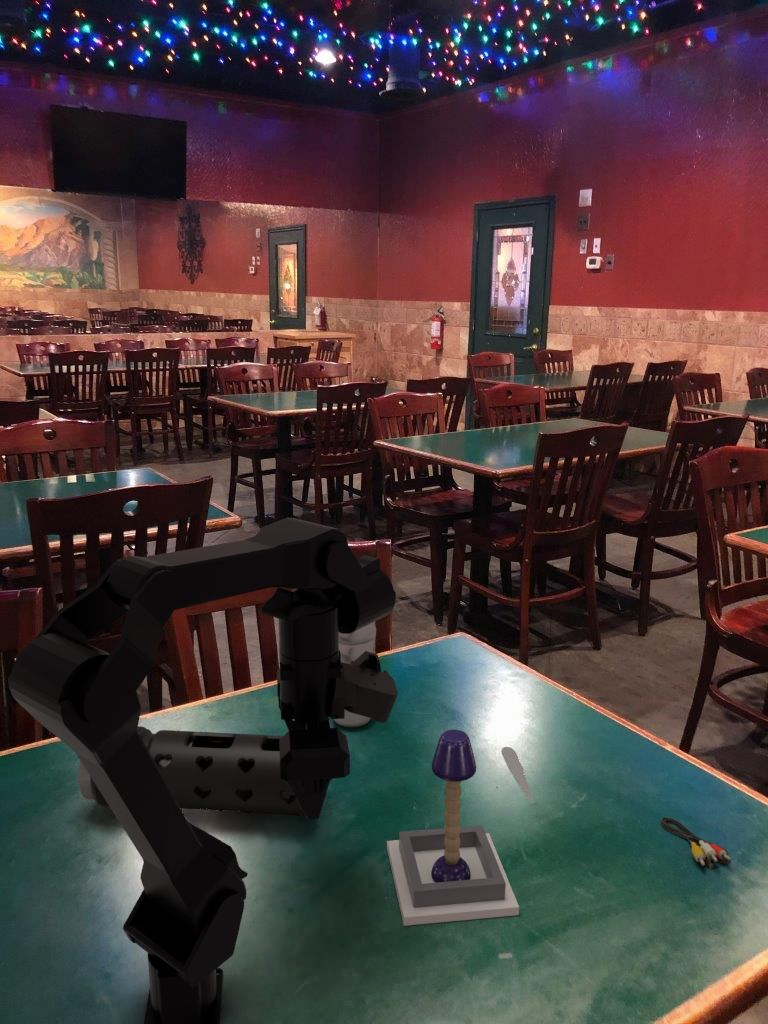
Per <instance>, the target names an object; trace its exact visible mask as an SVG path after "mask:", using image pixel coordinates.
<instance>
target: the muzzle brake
mask: <svg viewBox="0 0 768 1024" xmlns="http://www.w3.org/2000/svg"><path fill="white" fill-rule="evenodd" d="M138 732H139V735H140V736H141V738H142V740H143V742H144V744H145V745H146V747H147V749H148V751H149V753H150V754H151V756H152V758H153V760H154V761H155V763H156V765H157V767H158V769H159V770H160V772H161V774H162V776H163V778H164V779H165V781H166V783H167V785H168V786H169V788H170V790H171V792H172V794H173V795H174V797H175V799H176V801H177V803H178V804H179V806H180V808H181V809H183V810H185V809H187V810H203V811H204V810H205V811H206V810H210V811H218V812H219V813H223V812H224V811H225V812H239V813H240V814H253V815H255V814H256V815H270V816H271V815H273V816H274V815H275V816H288V817H289V816H291V817H293V816H294V817H306V815H305V813H304V812H303V810H302V808H301V806H300V804H299V802H298V801H297V799H296V797H295V795H294V794H293V792H292V790H291V789H290V787H289V785H288V784H287V782H286V781H284V780H283V779H281V778H280V749H279V740H280V739H281V738H282V737H283V736H284V735H272V734H253V733H251V734H250V733H236V732H234V733H233V732H230V733H229V732H213V731H211V732H209V731H193V730H192V731H189V730H172V729H171V730H170V729H168V730H167V729H162V730H161V729H160V730H157V732H155V733H153V731H152V730H151V729H149V728H147V727H145V726H139V725H138ZM78 786H79V787H78V788H79V791H80V794H81V796H82V797H83V798H84V799H85V800H90V801H95V803H97V804H98V805H99V806H101V807H104V808H110V806H109V805H108V803H107V802H106V800H105V798H104V797H103V795H102V794H101V792H100V791H99V789H98V787H97V786H96V784H95V783H94V781H93V780H92V778H91V776H90V775H89V773H88V772H87V770H86V768H85V767H84V765H83V764H82V762H81V761H80V760H79V766H78Z"/></svg>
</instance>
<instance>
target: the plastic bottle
mask: <svg viewBox="0 0 768 1024" xmlns="http://www.w3.org/2000/svg"><path fill="white" fill-rule="evenodd" d="M376 636H377V628H376V624H375V622H373V623H371V624H369V625H367V626H365V627H363V628H361V629H359V630H357V631H355V632H353V633H349V634H342V633H339V650H340V653H341V662H343V663H347V664H350V663H351V661H355V660H356V659H357V658H358V657H359V656H360V655H362V654H363V653H364V652H365V651H368V652H371V653H373V651H374V647H375V642H376V641H375V640H376ZM371 719H372V718H369V717H365V716H361V715H358V714H354V713H351V712H349V711H347V710H345V718H344V719H332V720H333V721H334V722H335V723H336V724H337V725H339V726H341V727H345V728H358V727H361V726H365V725H367V724H368V723H369V722H370V721H371Z"/></svg>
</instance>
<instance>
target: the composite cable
mask: <svg viewBox="0 0 768 1024" xmlns="http://www.w3.org/2000/svg"><path fill="white" fill-rule="evenodd" d="M673 825H674V826H675V827H674V826H673ZM660 826H661V828H663V830H665V831H667V832H668V833H670V834H672V835H675V836H677V837H679V838H682V839H685V840H686V841H687V842H688V843H689V844H690V848H691V853H692V855H693V858H694V860H695V861H696V862H697V863H700V864H701V866H703V867H704V866H708V867H709V868H710V869H711V870H713V869H714V863H713V862H712V861H714V862H715V863H719V864H723V865H724V864H728V863H730V861H731V857H730V853H729V851H728V850H727V849H726V848H725V847H723V846H721V845H719V844H715V843H712V842H710V841H707V840H705V839H703V838H700V837H699V836H697V835H696V834H694V833H693V832H692V830H690V829H689V828H688V827H686V826H685V825H684V824H683V823H681V822H680V821H679V820H677V819H674V818H672V817H667V816H664V817H661V822H660ZM676 827H677V828H676Z"/></svg>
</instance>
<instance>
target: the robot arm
mask: <svg viewBox="0 0 768 1024" xmlns="http://www.w3.org/2000/svg"><path fill="white" fill-rule="evenodd" d="M388 576H389V575H387V574H386V573H385V572H384V571H383V570H382V569H381V559H380V558H377V557H374V556H369V555H366V554H365V555H362V556H360V557H357V558H356V556H355V554H354V552H353V551H352V549H351V547H350V546H349V542H348V539H347V536H346V534H345V531H343V530H342V529H340V528H337V527H332V526H328V525H323V524H319V523H316V522H311V521H306V520H303V519H298V518H294V517H286V518H282V519H280V520H277V521H275V522H272V523H269V524H267V525H264V526H262V527H261V528H260V529H259V530H258V531H257V533H255V535H253V536H251V537H248V538H246V539H243V540H237V541H230V542H225V543H220V544H214V545H213V544H212V545H206V546H201V547H200V546H199V547H195V548H189V549H183V550H178V551H172V552H171V551H170V552H166V553H158V554H154V555H153V554H152V555H147V556H137V555H128V556H127V557H122V558H120V559H116V561H115V562H113V563H112V564H111V565H110V566H109V567H108V568H107V570H106V571H105V572H104V574H103V575H102V576H101V577H100V578H99V579H98V581H97V583H96V584H95V585H93V586H91V587H90V588H89V589H87V590H86V591H84V592H83V593H81V594H80V595H78V596H77V597H75V598H74V599H73V600H71V601H70V602H69V603H66V604H65V605H64V606H62V607H61V608H60V609H59V610H57V611H56V612H55V613H54V615H53V616H52V617H51V618H50V619H49V621H48V622H47V623H46V625H44V627H43V628H42V630H41V631H40V632H39V633H38V635H37V636H35V638H34V639H33V640H31V641H30V642H29V643H28V644H27V645H26V646H25V647H24V648H23V649H22V650H21V651H20V653H19V655H17V657H16V659H15V661H14V663H13V666H12V670H11V673H10V674H9V675H8V677H7V682H8V689H9V690H10V693H11V696H12V697H13V699H14V700H15V701H16V702H17V703H18V704H19V705H20V706H21V707H22V708H23V709H24V710H26V711H27V713H28V714H30V716H31V717H33V718H34V720H36V721H37V722H38V723H39V724H40V725H41V726H43V728H46V729H47V730H48V731H49V732H50V733H51V734H53V735H54V736H55V737H56V738H57V739H59V740H60V741H61V742H62V743H64V744H65V745H66V746H67V747H69V748H70V749H71V750H72V751H73V752H74V753H75V754H76V756H77V757H78V759H79V762H80V761H81V762H82V764H83V765H84V767H85V768H86V770H87V772H88V773H89V775H90V776H91V778H92V780H93V781H94V783H95V784H96V786H97V787H98V789H99V791H100V792H101V794H102V795H103V797H104V798H105V800H106V802H107V803H108V805H109V806H110V807H109V808H110V809H111V811H112V812H113V814H114V816H115V817H116V819H117V820H118V822H119V824H120V825H121V827H122V828H123V830H124V831H125V834H126V835H127V836H128V838H129V840H130V841H131V843H132V844H133V846H134V847H135V849H136V850H137V852H138V854H139V855H140V857H141V860H142V863H143V864H142V868H141V872H140V881H141V885H142V888H143V889H142V891H141V892H140V895H139V896H138V899H137V900H136V902H135V904H134V906H133V908H132V910H131V911H130V913H129V914H128V917H127V918H126V921H125V922H124V923H123V926H122V930H123V931H124V933H125V935H126V936H127V938H128V940H129V941H130V942H131V943H132V944H136V945H137V946H139V947H140V948H141V949H142V950H144V952H147V964H148V965H147V966H148V977H149V978H148V980H149V990H148V996H147V1003H146V1007H145V1015H144V1021H143V1024H221V1020H222V1005H223V1004H222V1002H223V1000H222V999H223V983H224V971H223V969H222V968H221V967H220V966H221V965H223V964H224V963H225V962H226V961H228V960H229V959H230V958H231V957H232V956H233V955H234V953H235V948H236V945H237V940H238V935H239V932H240V927H241V923H242V918H243V915H244V911H245V909H244V908H245V900H246V899H247V888H246V887H247V886H246V885H245V884H246V883H245V881H244V880H243V879H245V878H247V876H248V872H247V871H245V870H243V869H242V868H241V867H240V865H239V861H238V858H237V854H236V852H235V851H234V849H233V847H232V846H230V845H229V844H228V843H226V842H225V841H223V840H221V839H219V838H217V837H215V835H212V834H211V833H210V832H209V833H208V832H207V831H205V830H203V829H202V828H200V827H198V826H197V825H195V824H193V823H192V822H190V821H189V820H188V819H187V817H186V815H185V814H184V812H183V810H182V808H180V806H179V804H178V803H177V801H176V799H175V797H174V795H173V794H172V792H171V790H170V788H169V786H168V785H167V783H166V781H165V779H164V778H163V776H162V774H161V772H160V770H159V769H158V767H157V765H156V763H155V761H154V760H153V758H152V756H151V754H150V753H149V751H148V749H147V747H146V745H145V744H144V742H143V740H142V738H141V736H140V735H139V732H138V726H139V722H140V716H141V713H142V711H141V710H142V704H141V700H140V696H139V694H138V689H139V687H141V685H142V683H143V682H144V680H145V679H146V678H147V676H148V675H149V674H150V672H151V671H152V669H153V668H154V666H155V663H156V659H157V655H158V650H159V646H160V642H161V639H162V638H161V637H162V633H163V629H164V626H165V624H166V623H167V622H168V620H169V619H170V618H171V617H172V615H173V613H174V612H175V611H178V610H181V609H185V608H186V609H187V608H190V607H194V606H198V605H203V604H207V603H211V602H215V601H220V600H223V599H226V598H231V597H232V598H233V597H235V596H240V595H244V594H249V593H253V592H256V591H261V590H265V589H270V588H276V589H275V591H274V594H272V596H271V597H269V598H268V599H266V601H265V602H264V604H263V605H262V607H261V608H260V612H261V613H262V614H263V615H266V616H268V617H273V618H275V619H278V647H279V649H278V658H279V668H278V669H277V670H276V687H277V688H276V689H277V692H276V693H277V699H278V709H279V711H280V720H281V721H284V722H285V725H286V727H287V732H286V733H285V734H284V735H282V736H283V737H282V738H281V739H280V740H279V749H280V778H281V779H283V780H284V781H286V782H287V784H288V785H289V787H290V789H291V790H292V792H293V794H294V795H295V797H296V799H297V801H298V802H299V804H300V806H301V808H302V810H303V812H304V813H305V815H306V816H305V817H306V819H307V820H309V821H312V820H319V818H320V817H321V814H322V813H321V812H322V809H323V807H324V806H323V805H324V803H325V798H326V795H327V792H328V788H329V786H330V784H331V781H332V780H333V779H344V778H346V777H347V776H349V775H350V774H351V773H350V772H351V754H350V749H349V744H348V738H347V737H348V736H347V734H345V733H344V732H343V731H341V730H340V729H339V728H338V727H331V724H330V719H331V720H333V719H344V718H345V710H347V711H349V712H351V713H354V714H358V715H361V716H365V717H369V718H371V719H373V720H374V722H376V723H381V724H382V723H383V724H384V723H387V722H388V719H389V718H390V715H391V712H392V710H393V708H394V705H395V702H396V701H397V700H396V699H397V697H398V695H399V692H398V689H397V688H398V687H397V686H396V682H395V679H394V677H393V676H392V675H390V674H389V671H388V670H386V669H384V670H383V671H382V667H381V661H380V657H379V655H378V654H377V653H375V652H374V653H371V652H368V651H365V652H364V653H363V654H362V655H360V656H359V657H358V658H357V659H356V660H355V661H351V663H350V664H347V663H343V662H341V653H340V650H339V633H342V634H349V633H353V632H355V631H357V630H359V629H361V628H363V627H365V626H367V625H369V624H371V623H373V622H374V623H375V622H377V621H378V620H381V619H383V618H385V617H386V616H388V615H389V614H390V613H391V612H392V611H393V609H394V607H395V605H396V601H397V596H396V594H397V593H396V591H395V590H394V586H393V583H392V581H391V579H390V578H389V577H388ZM285 588H286V589H285ZM289 589H291V590H289ZM125 614H126V617H125V620H124V624H123V628H122V631H121V636H120V639H119V641H118V642H117V644H116V645H115V646H113V647H114V648H113V649H112V650H111V651H110V653H109V652H107V651H104V650H102V649H99V648H98V647H95V646H93V645H91V644H89V643H87V642H88V641H89V640H90V639H91V638H92V637H94V636H95V635H97V634H99V633H100V632H101V631H103V629H105V628H106V627H108V626H110V625H112V624H113V623H114V622H115V621H117V620H118V619H120V618H121V617H123V616H125ZM329 718H330V719H329Z"/></svg>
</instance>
